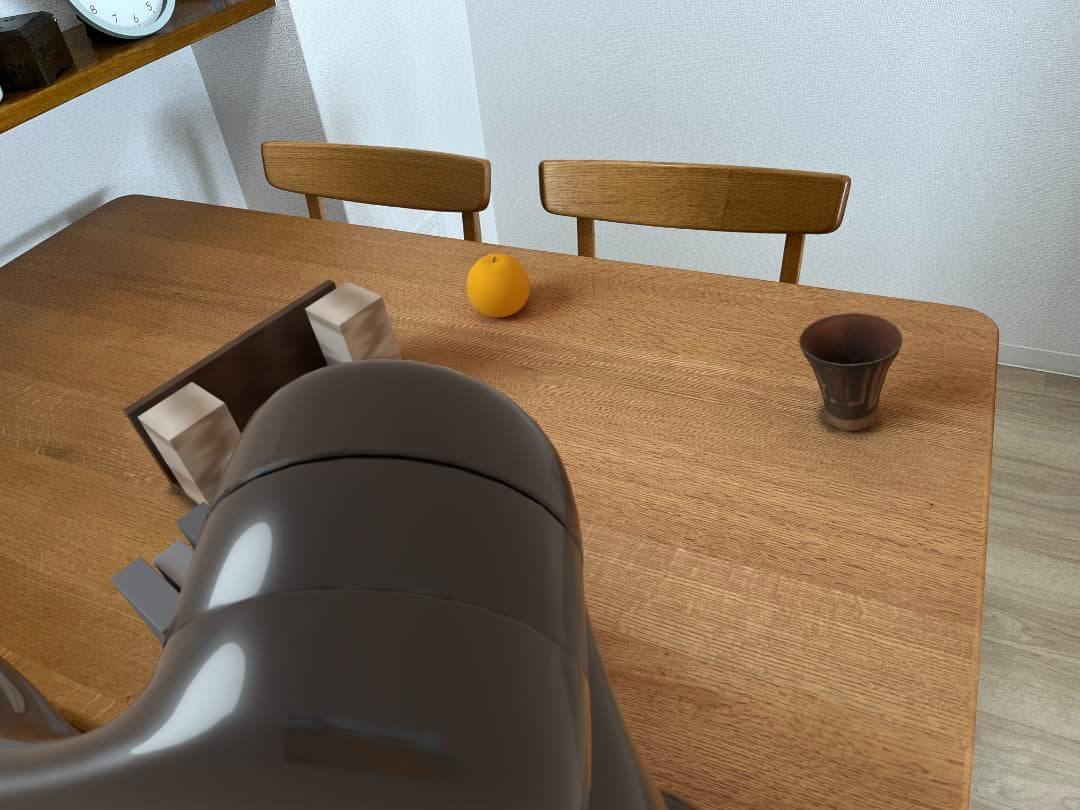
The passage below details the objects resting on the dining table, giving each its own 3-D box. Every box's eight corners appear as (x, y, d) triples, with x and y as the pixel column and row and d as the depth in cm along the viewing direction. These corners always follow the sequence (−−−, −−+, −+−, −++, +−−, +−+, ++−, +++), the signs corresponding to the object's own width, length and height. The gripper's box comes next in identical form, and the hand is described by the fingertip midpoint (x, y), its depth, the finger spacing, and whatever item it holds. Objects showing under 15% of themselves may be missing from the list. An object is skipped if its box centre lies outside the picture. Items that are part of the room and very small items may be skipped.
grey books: (233, 722, 65) (158, 627, 56) (182, 669, 69) (105, 573, 60) (369, 596, 72) (322, 495, 63) (315, 556, 77) (264, 455, 68)
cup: (807, 375, 86) (815, 298, 80) (896, 395, 82) (912, 315, 75) (781, 429, 81) (787, 350, 74) (875, 453, 77) (890, 372, 70)
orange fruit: (460, 312, 104) (447, 262, 99) (505, 284, 108) (496, 234, 103) (499, 334, 99) (488, 283, 94) (546, 304, 103) (538, 253, 98)
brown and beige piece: (245, 547, 79) (191, 457, 71) (173, 488, 87) (117, 402, 78) (434, 396, 92) (407, 306, 84) (356, 357, 100) (325, 271, 92)
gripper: (489, 600, 52) (329, 493, 61) (313, 780, 44) (162, 628, 54) (507, 663, 57) (357, 555, 66) (352, 835, 49) (207, 686, 59)
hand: (270, 588), depth 60 cm, fingers closed on supplement box, 6 cm apart
